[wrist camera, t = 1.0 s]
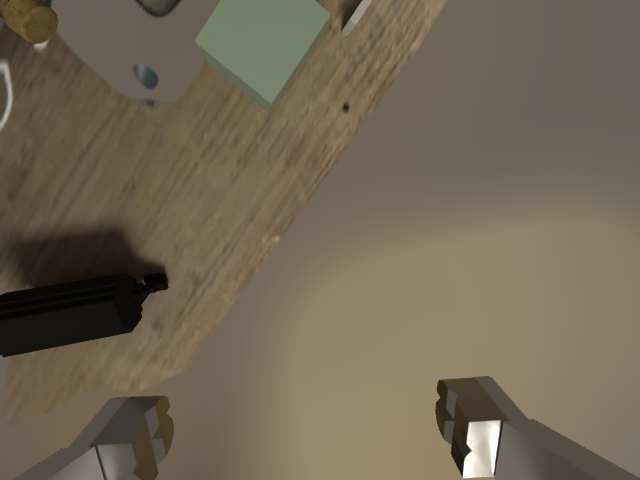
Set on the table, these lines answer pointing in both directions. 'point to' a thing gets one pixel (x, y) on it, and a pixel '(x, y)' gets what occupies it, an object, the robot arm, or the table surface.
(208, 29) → the block
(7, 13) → the gavel
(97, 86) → the table surface
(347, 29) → the box
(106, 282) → the security camera
